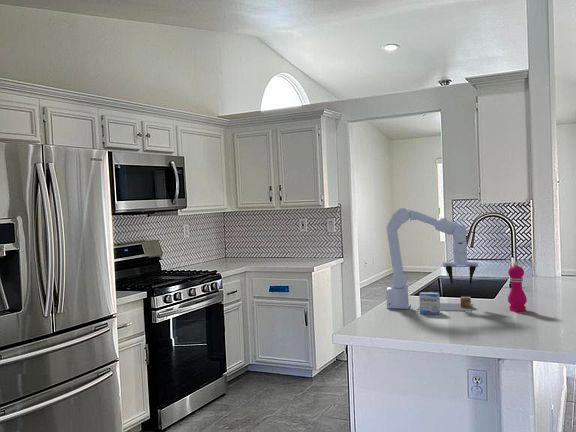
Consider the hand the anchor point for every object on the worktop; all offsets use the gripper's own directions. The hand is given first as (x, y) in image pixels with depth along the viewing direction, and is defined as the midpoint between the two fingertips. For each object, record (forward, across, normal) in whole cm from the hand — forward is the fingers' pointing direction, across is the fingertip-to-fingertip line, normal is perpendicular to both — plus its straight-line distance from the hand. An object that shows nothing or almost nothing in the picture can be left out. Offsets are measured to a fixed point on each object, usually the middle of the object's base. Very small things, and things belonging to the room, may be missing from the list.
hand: (461, 283), depth 230 cm
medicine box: (+11, -12, -14) cm, 21 cm away
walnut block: (+10, +2, 0) cm, 10 cm away
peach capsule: (+10, -14, +4) cm, 18 cm away
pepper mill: (+11, +22, -3) cm, 25 cm away
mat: (+10, -7, -1) cm, 13 cm away
